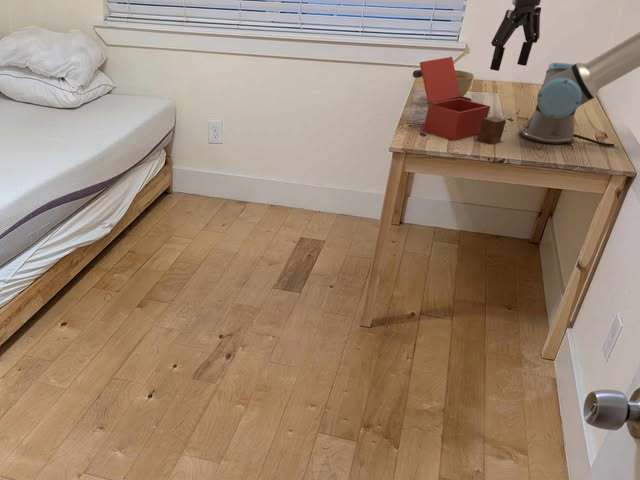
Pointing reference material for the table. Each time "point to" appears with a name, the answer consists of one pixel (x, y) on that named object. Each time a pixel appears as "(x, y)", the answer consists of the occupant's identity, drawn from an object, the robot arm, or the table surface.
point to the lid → (438, 79)
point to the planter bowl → (462, 82)
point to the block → (491, 130)
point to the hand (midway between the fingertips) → (508, 67)
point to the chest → (455, 118)
